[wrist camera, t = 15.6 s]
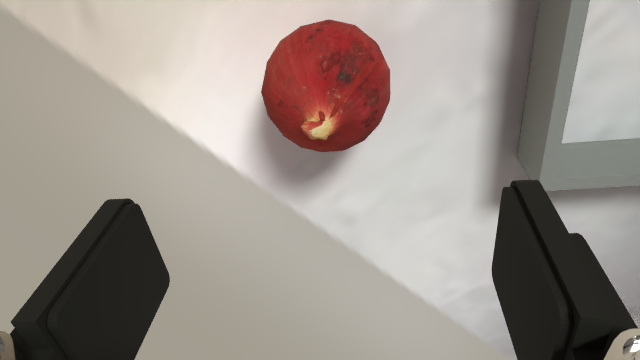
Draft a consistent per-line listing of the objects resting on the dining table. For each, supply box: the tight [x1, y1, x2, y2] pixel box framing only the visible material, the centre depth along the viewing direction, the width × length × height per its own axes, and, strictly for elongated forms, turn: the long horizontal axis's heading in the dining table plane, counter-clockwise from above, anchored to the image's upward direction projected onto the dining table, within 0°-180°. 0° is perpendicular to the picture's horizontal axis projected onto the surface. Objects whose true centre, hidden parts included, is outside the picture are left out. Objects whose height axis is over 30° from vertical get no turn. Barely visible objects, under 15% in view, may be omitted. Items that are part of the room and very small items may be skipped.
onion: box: [261, 20, 390, 152], centre depth 20 cm, size 6×6×8 cm
